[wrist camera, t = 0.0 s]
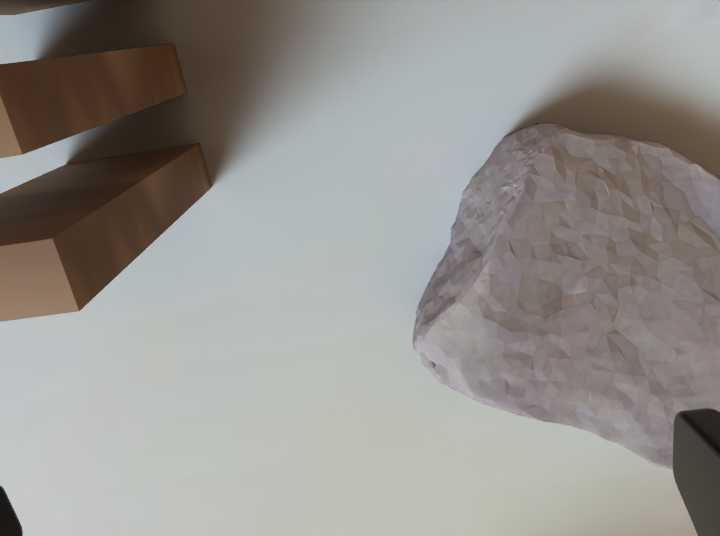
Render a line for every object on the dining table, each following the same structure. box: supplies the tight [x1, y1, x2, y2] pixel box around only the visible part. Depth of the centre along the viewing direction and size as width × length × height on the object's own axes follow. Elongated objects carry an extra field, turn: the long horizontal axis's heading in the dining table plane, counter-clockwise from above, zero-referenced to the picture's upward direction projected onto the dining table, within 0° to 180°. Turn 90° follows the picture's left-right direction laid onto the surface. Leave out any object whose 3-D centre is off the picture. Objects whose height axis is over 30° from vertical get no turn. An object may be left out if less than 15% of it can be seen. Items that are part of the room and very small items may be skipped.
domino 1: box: [0, 43, 187, 158], centre depth 16 cm, size 2×5×10 cm, turn 99°
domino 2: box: [0, 143, 211, 322], centre depth 17 cm, size 2×5×10 cm, turn 100°
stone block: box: [413, 123, 720, 469], centre depth 21 cm, size 12×5×10 cm
